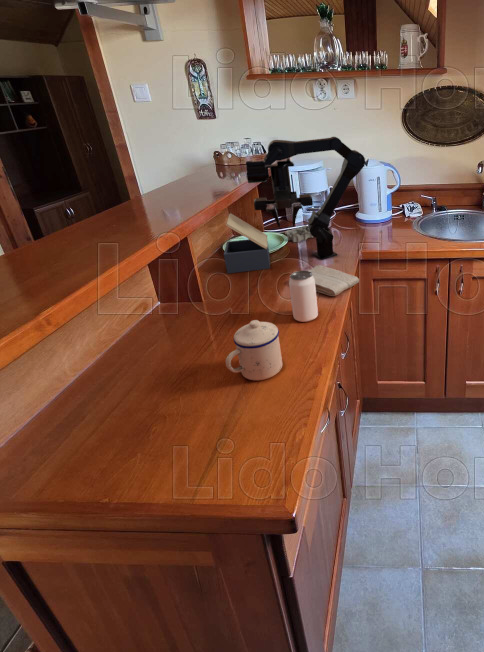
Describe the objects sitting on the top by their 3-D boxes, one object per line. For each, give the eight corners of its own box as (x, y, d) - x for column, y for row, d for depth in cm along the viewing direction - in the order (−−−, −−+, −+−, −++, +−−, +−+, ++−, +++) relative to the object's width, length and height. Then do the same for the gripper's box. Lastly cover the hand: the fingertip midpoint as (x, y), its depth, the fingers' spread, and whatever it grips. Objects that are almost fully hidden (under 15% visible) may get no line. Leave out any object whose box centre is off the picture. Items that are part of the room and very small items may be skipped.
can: (294, 324, 107) (289, 282, 102) (292, 312, 113) (287, 271, 108) (319, 320, 108) (315, 278, 104) (316, 308, 114) (312, 268, 109)
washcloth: (318, 270, 138) (317, 262, 136) (361, 283, 128) (360, 274, 127) (291, 284, 129) (290, 274, 128) (335, 298, 119) (334, 289, 118)
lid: (225, 225, 131) (227, 223, 131) (229, 214, 143) (230, 212, 142) (266, 249, 138) (267, 247, 137) (266, 237, 149) (267, 235, 149)
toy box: (227, 273, 138) (223, 254, 135) (230, 259, 149) (226, 241, 146) (269, 268, 140) (267, 249, 138) (269, 255, 152) (267, 237, 149)
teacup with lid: (267, 351, 96) (260, 306, 92) (292, 366, 91) (285, 320, 86) (219, 377, 88) (208, 329, 83) (243, 395, 83) (233, 346, 78)
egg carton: (295, 243, 162) (293, 233, 161) (284, 239, 167) (283, 229, 166) (317, 236, 169) (316, 227, 167) (306, 232, 174) (305, 223, 172)
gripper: (250, 188, 127) (257, 237, 134) (312, 183, 131) (316, 231, 138) (251, 181, 137) (258, 226, 143) (309, 176, 141) (313, 221, 147)
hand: (286, 226), depth 143 cm, fingers open, 4 cm apart
